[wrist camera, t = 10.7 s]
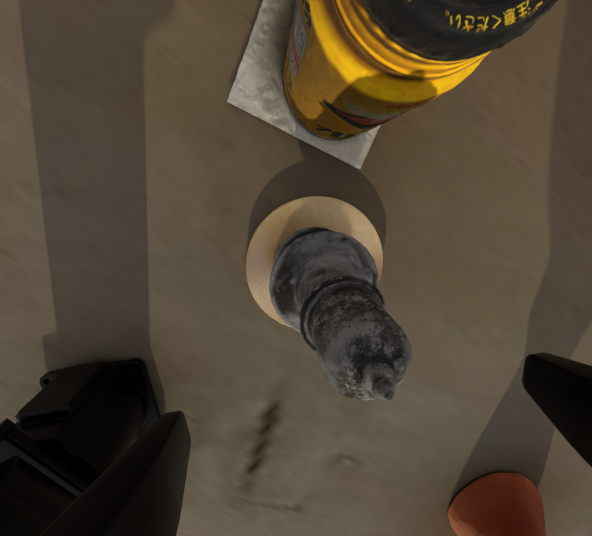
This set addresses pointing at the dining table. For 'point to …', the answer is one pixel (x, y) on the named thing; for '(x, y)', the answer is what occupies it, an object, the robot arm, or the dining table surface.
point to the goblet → (498, 507)
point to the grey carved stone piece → (340, 312)
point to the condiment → (365, 62)
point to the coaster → (296, 218)
